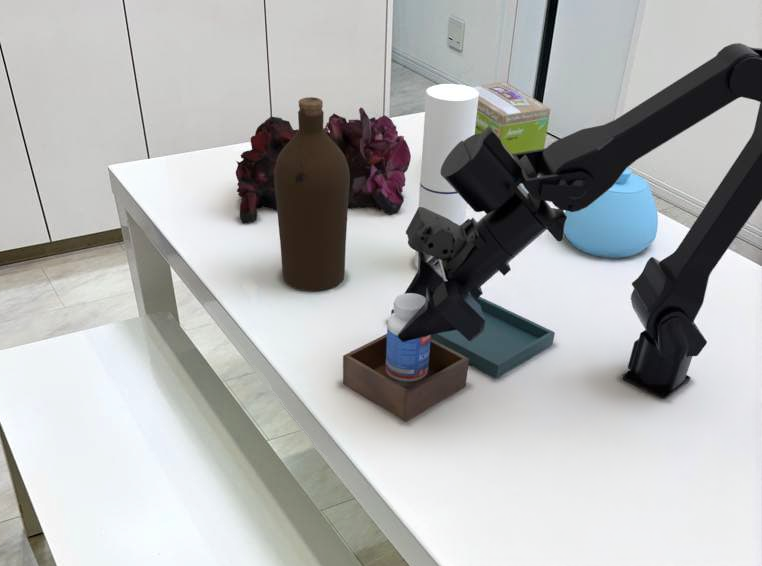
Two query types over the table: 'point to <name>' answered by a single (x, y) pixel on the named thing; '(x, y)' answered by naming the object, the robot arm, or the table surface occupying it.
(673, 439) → the table surface
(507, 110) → the tea box
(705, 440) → the table surface
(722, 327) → the table surface
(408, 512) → the table surface
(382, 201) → the flower arrangement
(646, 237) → the sugar bowl
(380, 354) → the open box
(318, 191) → the olive oil
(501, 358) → the tray
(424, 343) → the pill bottle
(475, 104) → the cylindrical container
